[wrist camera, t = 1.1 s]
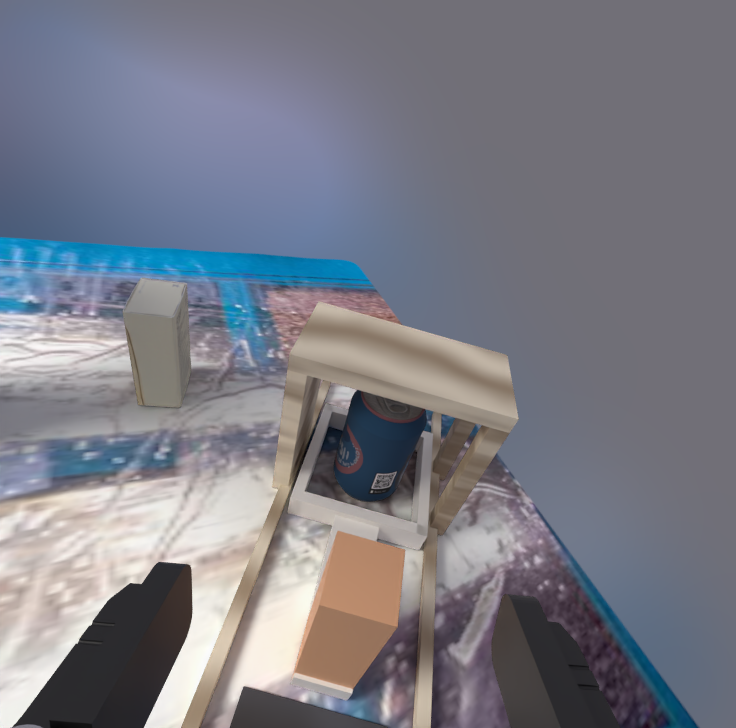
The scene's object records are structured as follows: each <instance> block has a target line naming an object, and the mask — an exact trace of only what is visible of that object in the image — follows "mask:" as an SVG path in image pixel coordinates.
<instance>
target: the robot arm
mask: <svg viewBox="0 0 736 728" xmlns="http://www.w3.org/2000/svg"><path fill="white" fill-rule="evenodd" d="M191 619H192V577H191V567H190V565H188V564H177V563H166V562H158V563H157V564H156V565H155V566H154V567H153V569H152V570H151V572H150V573H149V574H148V576H147V577H146V579H145V580H144V582H143V583H142V584H133V583H130V584H129V585H127V586H126V587H125V588H123V589H122V590H121V591H120V592H118V593H117V594H116V595H114V596H113V597H112V598H111V599H109V600H108V601H107V603H106V604H105V605H104V607H103V608H102V609H101V611H100V612H99V614H98V615H97V616H96V618H95V619H94V620H93V623H92V625H91V626H89V627H88V628H87V630H86V631H85V632H84V634H83V635H82V636H81V638H80V639H79V642H78V644H75V646H74V647H73V648H72V650H71V651H70V652H69V654H68V655H67V656H66V658H65V659H64V660H63V662H62V663H61V664H60V666H59V667H58V668H57V670H56V671H55V673H54V674H53V675H52V677H51V678H50V679H49V681H48V682H47V683H46V685H45V686H44V687H43V689H42V690H41V691H40V693H39V694H38V695H37V697H36V698H35V699H34V701H33V702H32V703H31V705H30V706H29V707H28V709H27V710H26V711H25V713H24V714H23V715H22V717H21V718H20V719H19V720H18V721H17V723H16V724H15V725H14V726H13V727H12V728H144V726H145V724H146V722H147V719H148V717H149V715H150V713H151V711H152V709H153V707H154V705H155V703H156V701H157V698H158V696H159V694H160V692H161V690H162V688H163V686H164V684H165V682H166V679H167V677H168V675H169V673H170V671H171V669H172V667H173V665H174V663H175V661H176V658H177V656H178V654H179V652H180V650H181V648H182V646H183V644H184V642H185V639H186V637H187V634H188V631H189V628H190V624H191ZM492 661H493V666H494V670H495V674H496V677H497V681H498V684H499V688H500V691H501V695H502V698H503V702H504V705H505V709H506V712H507V716H508V719H509V723H510V726H511V728H620V726H619V724H618V722H617V720H616V718H615V716H614V714H613V712H612V710H611V709H610V707H609V705H608V703H607V701H606V699H605V697H604V695H603V693H602V691H600V690H599V685H598V683H597V681H596V679H595V677H594V675H593V673H592V671H590V670H589V666H588V664H587V662H586V660H585V658H584V656H583V654H582V652H581V650H580V648H579V646H578V644H577V643H576V641H575V640H574V639H573V638H572V637H571V636H570V635H569V634H568V633H567V631H566V630H565V629H564V628H563V627H562V626H561V625H560V624H559V623H556V622H548V620H547V618H546V616H545V614H544V612H543V610H542V607H541V605H540V603H539V601H538V600H537V599H536V598H535V597H530V596H519V595H508V594H505V595H504V596H503V597H502V600H501V604H500V608H499V612H498V617H497V621H496V625H495V629H494V633H493V638H492Z"/></svg>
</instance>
